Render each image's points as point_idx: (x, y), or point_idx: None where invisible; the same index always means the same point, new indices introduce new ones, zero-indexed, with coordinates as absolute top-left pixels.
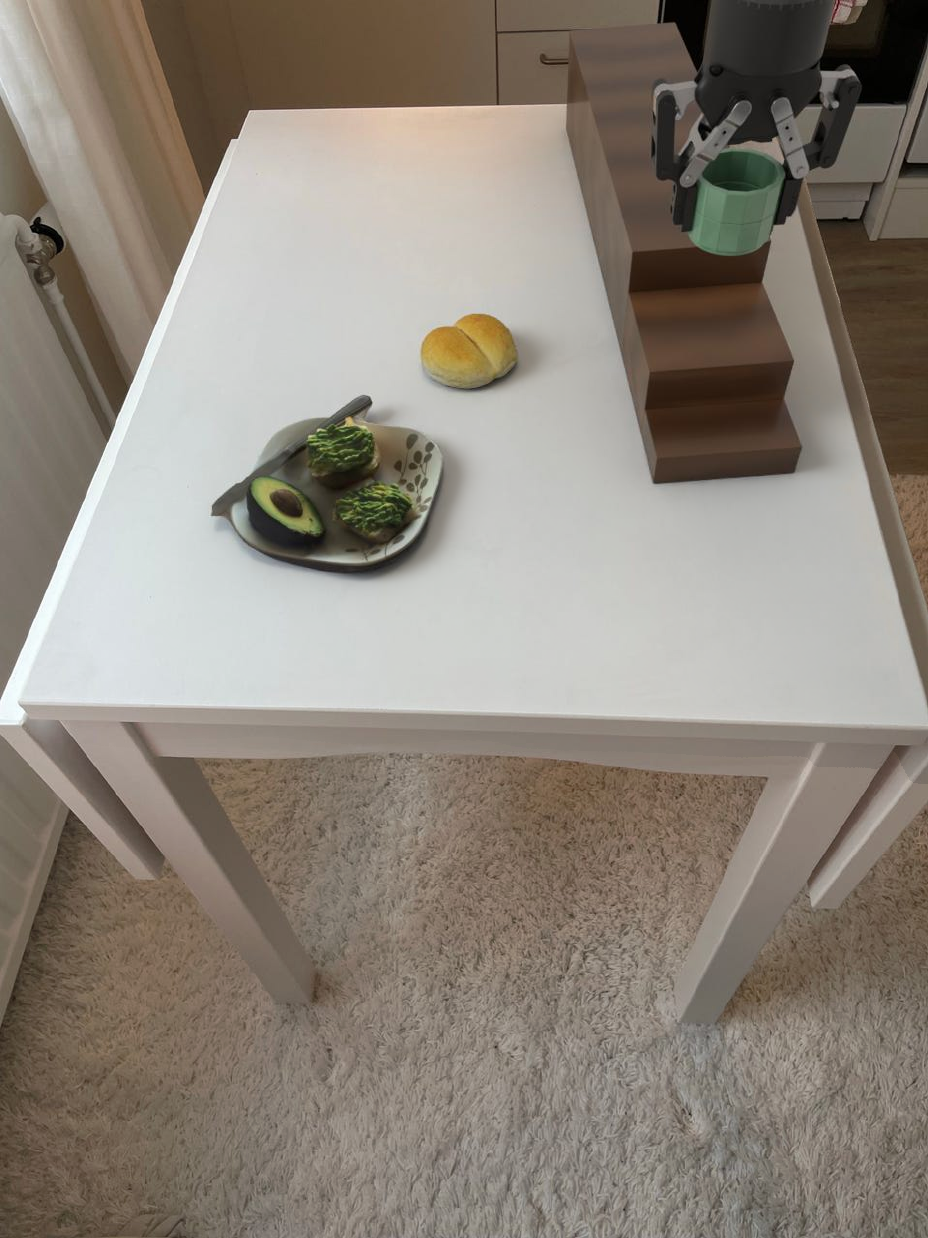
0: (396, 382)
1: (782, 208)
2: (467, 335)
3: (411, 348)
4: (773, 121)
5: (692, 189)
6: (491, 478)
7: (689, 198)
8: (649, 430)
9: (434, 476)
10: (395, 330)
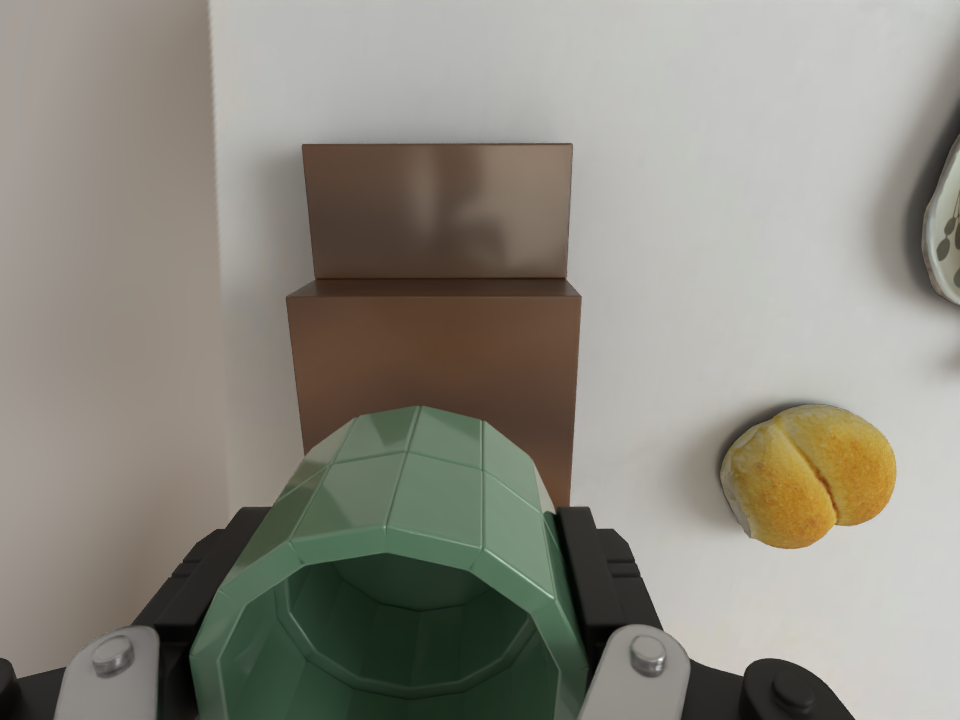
0: (918, 434)
1: (239, 539)
2: (828, 493)
3: None
4: None
5: (605, 616)
6: (829, 191)
7: (602, 588)
8: (568, 223)
9: (953, 175)
10: (886, 548)
